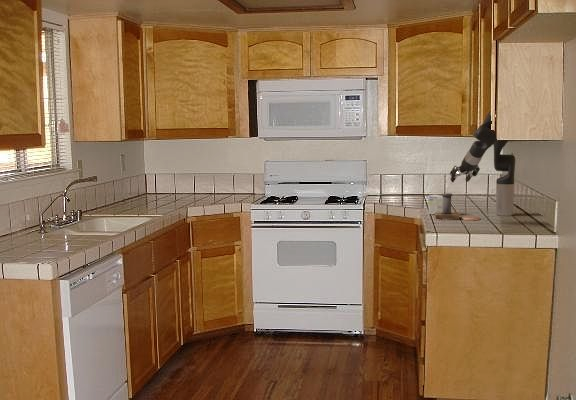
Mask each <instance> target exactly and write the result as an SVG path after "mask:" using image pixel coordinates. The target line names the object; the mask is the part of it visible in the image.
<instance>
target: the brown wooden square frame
mask: <svg viewBox="0 0 576 400" xmlns="http://www.w3.org/2000/svg"><path fill="white" fill-rule="evenodd" d="M435 218H436V219H449V220H448V221H460V214H459V213H458V212H453V211H451V214H443V212H435V215H434V219H435ZM436 219H435V220H436ZM450 219H451V220H450Z"/></svg>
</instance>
